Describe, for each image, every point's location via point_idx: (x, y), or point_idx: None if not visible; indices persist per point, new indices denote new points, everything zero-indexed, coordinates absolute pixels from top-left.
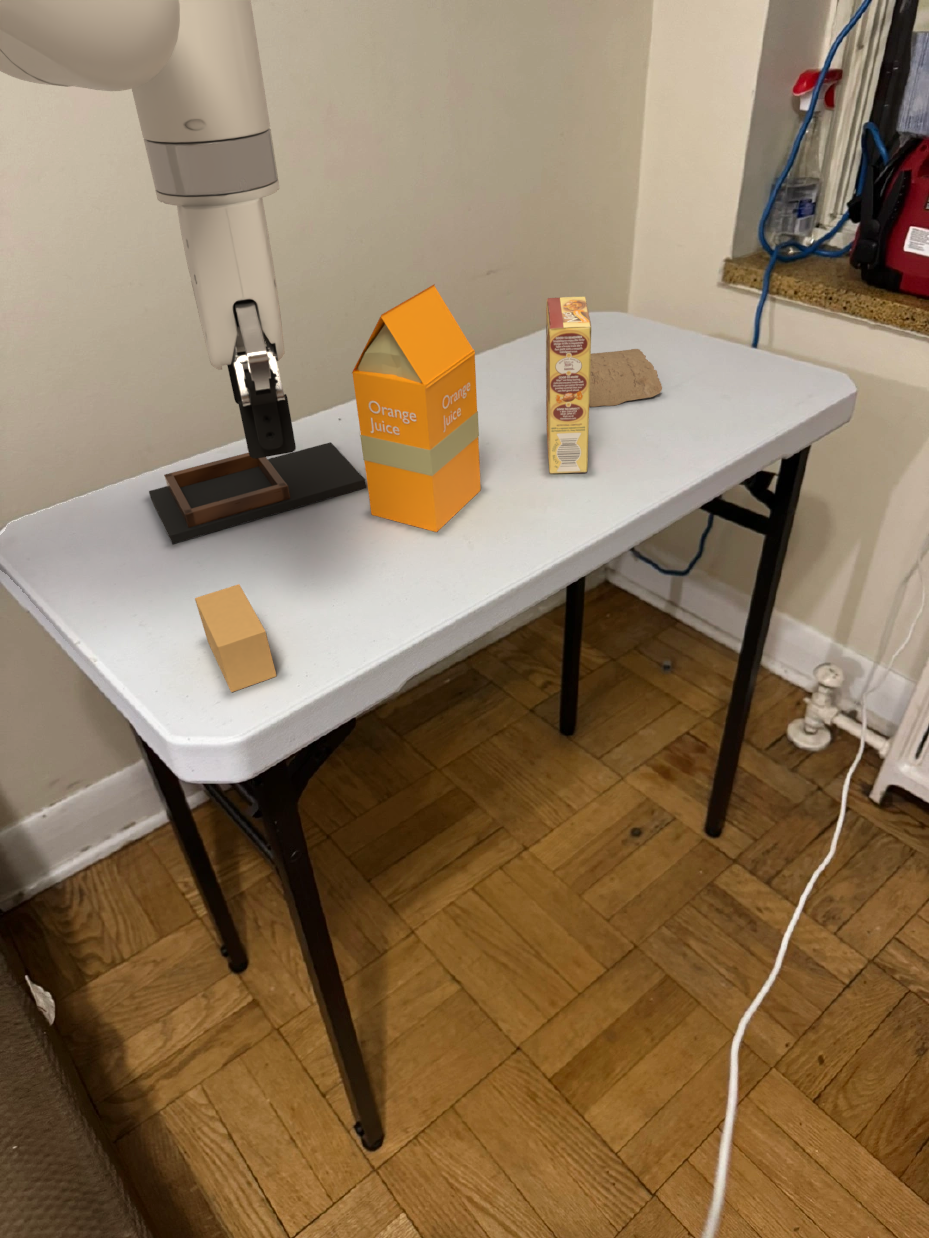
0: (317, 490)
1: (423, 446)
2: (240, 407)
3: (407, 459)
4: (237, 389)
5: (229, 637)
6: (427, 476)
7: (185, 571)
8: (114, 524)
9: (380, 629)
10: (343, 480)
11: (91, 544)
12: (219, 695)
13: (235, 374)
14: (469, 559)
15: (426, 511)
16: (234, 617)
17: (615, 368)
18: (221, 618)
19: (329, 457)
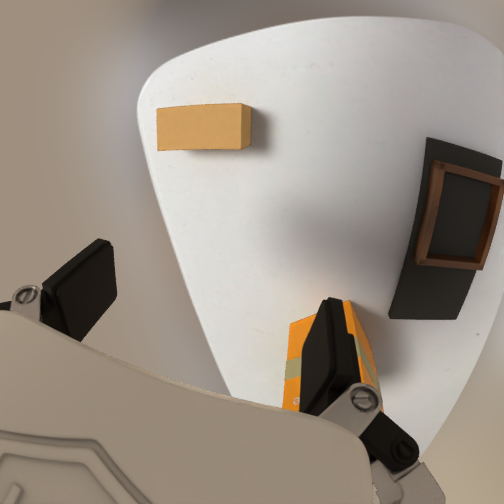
0: (405, 282)
1: (291, 380)
2: (45, 282)
3: None
4: (323, 320)
5: (163, 120)
6: (291, 358)
7: (376, 126)
8: (482, 114)
9: (194, 234)
10: (402, 305)
11: (463, 83)
12: (180, 101)
13: (323, 345)
14: (242, 322)
15: (296, 332)
16: (188, 130)
17: None
18: (193, 119)
19: (439, 310)
